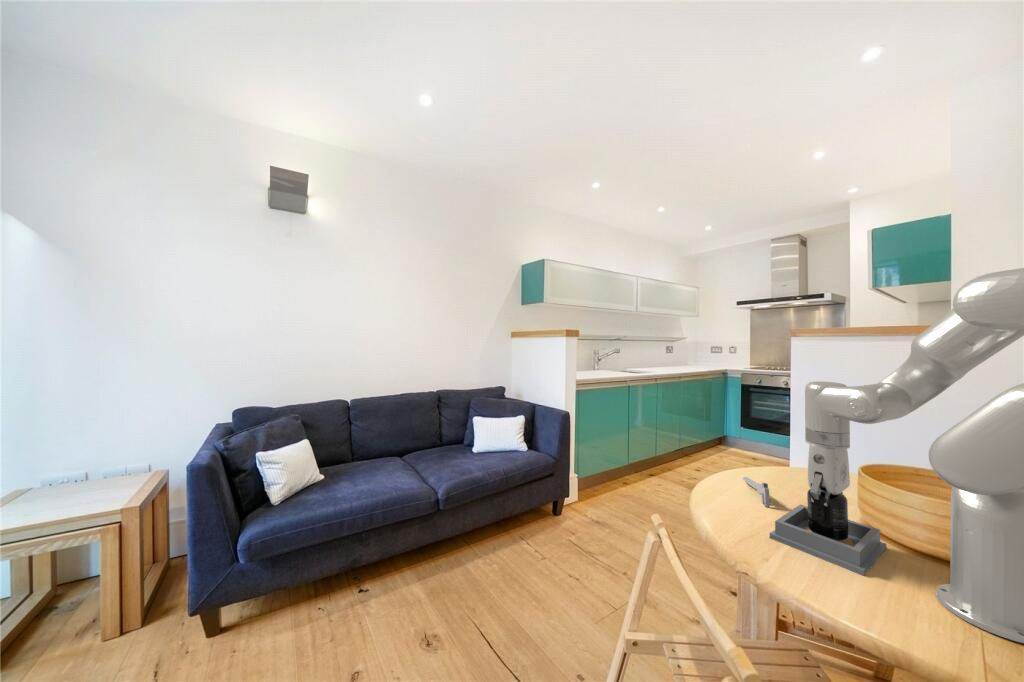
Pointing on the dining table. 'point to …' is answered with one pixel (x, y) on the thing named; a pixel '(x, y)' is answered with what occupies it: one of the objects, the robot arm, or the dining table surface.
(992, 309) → the robot arm
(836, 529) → the supplement bottle
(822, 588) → the dining table surface
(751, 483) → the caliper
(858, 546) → the housing
